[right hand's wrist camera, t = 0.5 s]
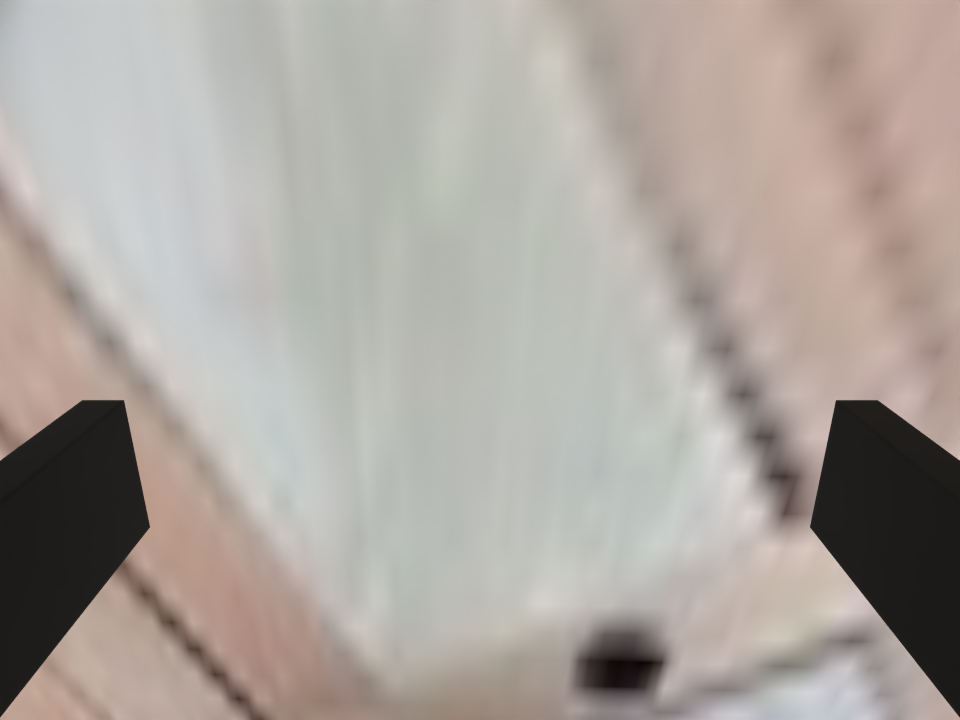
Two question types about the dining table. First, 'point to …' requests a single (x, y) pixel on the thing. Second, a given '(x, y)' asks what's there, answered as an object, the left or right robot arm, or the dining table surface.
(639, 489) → the dining table surface
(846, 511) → the right robot arm
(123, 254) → the dining table surface
